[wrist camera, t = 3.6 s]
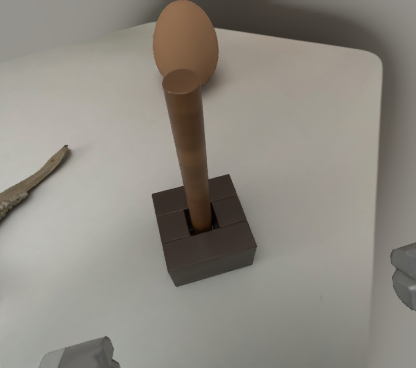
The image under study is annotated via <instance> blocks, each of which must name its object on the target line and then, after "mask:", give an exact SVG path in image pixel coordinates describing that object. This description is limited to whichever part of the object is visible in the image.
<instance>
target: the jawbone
mask: <svg viewBox="0 0 416 368" xmlns="http://www.w3.org/2000/svg"><path fill="white" fill-rule="evenodd" d="M67 147H68V145H65V146H64V147H63V148H61V149H60V150H59V151H58V152H57V153H56V154H55V155H54V156H52V157H51V158H50V159H49V161H48V162H47V163H46V164H45V165H44V166H43V167H42V168H41V169H40V170H39V171H38V172H36V173H35V174H34V175H32V176H30V177H29V178H27V179H25V180H23V181H21V182H20V183H18V184H16V185H14V186H12V187H10V188H9V189H7V190H5V191H4V192H2V193H0V219H1V217H4V216H5V213H6V212H7V211H8V209H11V208H12V207H13V205H16V204H18V203H19V202H20V201H21V199H24V198H26V196H27V195H28V193H27V192H28V191H29V190H30V189H31V188H32V187H34V186H35V185H37V184H38V183H39V182H40V181H41V180H43V179H44V178H45V177H46V176H47V175H48V174H49V173H50V172H51V171H52V170H53V169H54V168H55V167H56V166H57V165H58V164H59V163H60V162H62V160H63V159H64V158H65V157H66V155H67V154H68V153H69V151H70V149H68V148H67Z"/></svg>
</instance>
